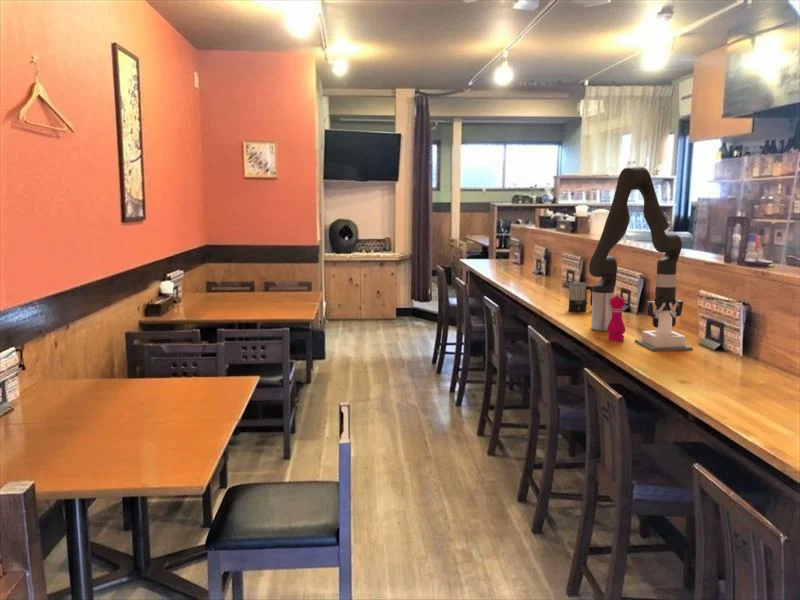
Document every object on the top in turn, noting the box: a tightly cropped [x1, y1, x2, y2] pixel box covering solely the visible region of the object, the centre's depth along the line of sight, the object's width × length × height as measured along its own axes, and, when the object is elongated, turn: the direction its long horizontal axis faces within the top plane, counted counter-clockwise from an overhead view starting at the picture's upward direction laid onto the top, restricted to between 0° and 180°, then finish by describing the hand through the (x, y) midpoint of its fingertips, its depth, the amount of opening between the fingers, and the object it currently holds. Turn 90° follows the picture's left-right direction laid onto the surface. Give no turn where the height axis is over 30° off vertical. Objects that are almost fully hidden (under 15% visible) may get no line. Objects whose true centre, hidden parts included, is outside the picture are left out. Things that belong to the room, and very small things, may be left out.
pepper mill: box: [606, 292, 626, 342], centre depth 258 cm, size 7×7×20 cm
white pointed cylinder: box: [655, 310, 673, 336], centre depth 246 cm, size 6×12×6 cm
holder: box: [634, 330, 694, 352], centre depth 247 cm, size 16×16×5 cm
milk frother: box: [568, 281, 593, 313], centre depth 328 cm, size 14×16×15 cm
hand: (663, 326), depth 246 cm, fingers closed on white pointed cylinder, 6 cm apart
